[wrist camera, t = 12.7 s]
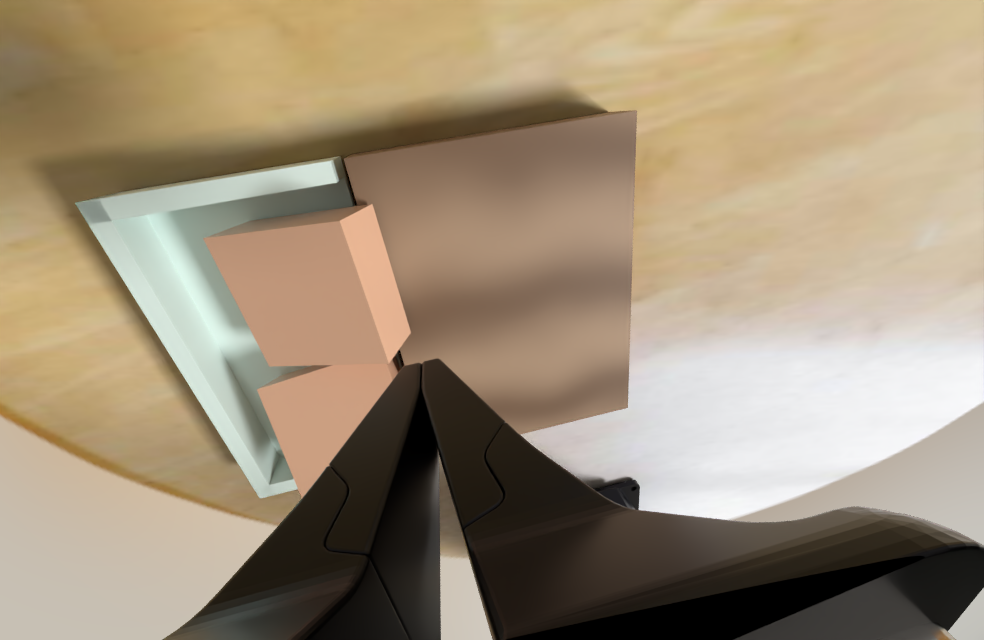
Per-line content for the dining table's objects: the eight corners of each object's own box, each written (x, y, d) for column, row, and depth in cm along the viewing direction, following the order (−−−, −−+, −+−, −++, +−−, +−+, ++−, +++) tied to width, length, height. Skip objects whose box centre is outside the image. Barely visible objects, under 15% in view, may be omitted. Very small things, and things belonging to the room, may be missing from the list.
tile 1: (411, 332, 18) (389, 363, 16) (302, 337, 20) (269, 366, 18) (372, 203, 16) (339, 220, 14) (249, 220, 17) (203, 238, 15)
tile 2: (426, 441, 22) (422, 462, 19) (321, 476, 22) (303, 503, 19) (390, 340, 21) (381, 349, 19) (280, 375, 21) (256, 389, 18)
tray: (421, 428, 25) (422, 458, 22) (273, 463, 24) (259, 498, 22) (340, 155, 17) (330, 160, 15) (119, 192, 16) (74, 202, 14)
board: (609, 383, 26) (627, 407, 24) (429, 426, 25) (431, 456, 22) (609, 111, 18) (636, 110, 16) (351, 154, 17) (343, 158, 15)
